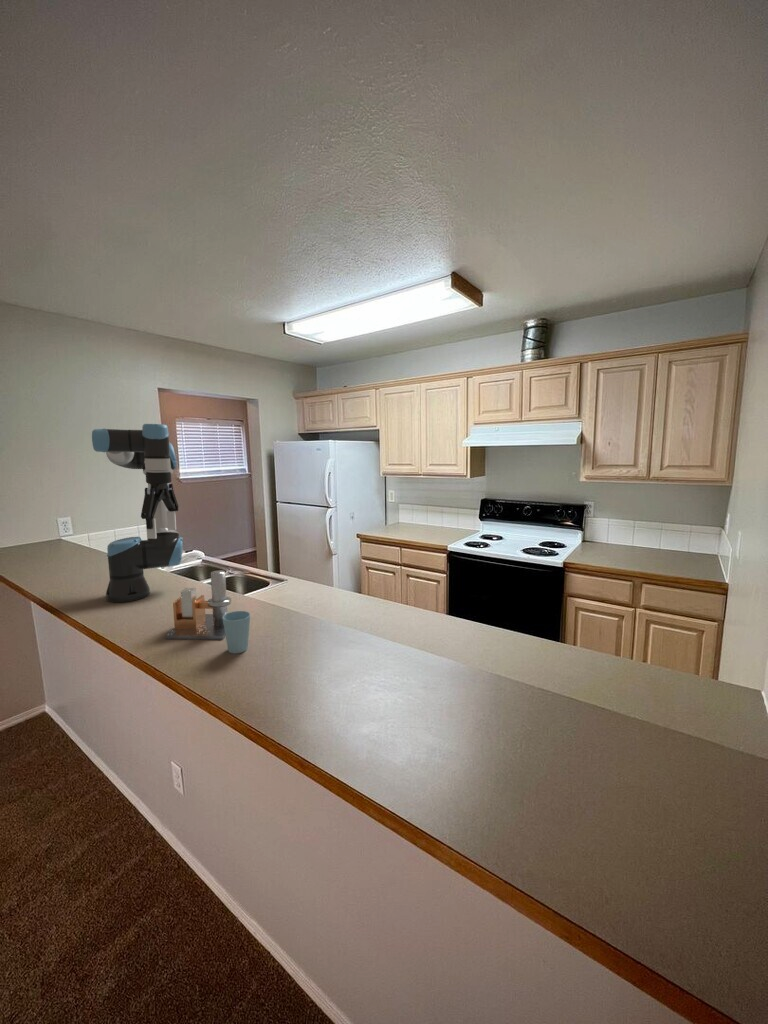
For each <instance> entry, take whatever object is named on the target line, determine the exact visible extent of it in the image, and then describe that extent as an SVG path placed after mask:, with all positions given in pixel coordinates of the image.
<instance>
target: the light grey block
mask: <svg viewBox="0 0 768 1024" xmlns="http://www.w3.org/2000/svg"><path fill="white" fill-rule="evenodd" d="M180 597H181V604H182V619H193V607H192V602H194V601H195V600H196V599H197V588H195V587H184V589H182V590H181V591H180Z"/></svg>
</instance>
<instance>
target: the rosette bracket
mask: <svg viewBox="0 0 768 1024" xmlns="http://www.w3.org/2000/svg"><path fill="white" fill-rule="evenodd" d="M226 577H227V576H226V571H225V570H223V569H221V570H219V569H218V570H214V571H211V572H210V581H211V582H210V585H211V587H210V589H211V598H210V599H208V600H205V595H204V594H201V595H200V596H199V597H198V598H197V597H196V598H197V599H196V600H195V601H194V602H192V607H193V619H182V604H181V596H180V597H178V598H177V599H176V600H174V601H173V602H172V607H173V608H172V609H173V623H174V628H172V630H170V631H169V632H168V633H167V634H165V635H164V639H165V640H224V639H226V635H225V629H224V624H223V618H222V617H223V616H224V615H225V614H227V613H228V606H229V605H231V604H232V598H231V597H229V596H227V582H226V581H227V580H226ZM207 609H209V610H210V609H211V610H212V613H206V610H207Z"/></svg>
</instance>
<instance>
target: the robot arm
mask: <svg viewBox="0 0 768 1024" xmlns="http://www.w3.org/2000/svg"><path fill="white" fill-rule="evenodd" d="M91 442H92V443H91V444H92V447H93V451H95V452H98V453H100V452H101V453H105V455H106V458H107V459H108V460H109V462H111V463H112V464H114V465H116V466H119V467H122V468H126V469H129V470H130V469H131V470H142V473H143V474H144V475H145V482H146V483H147V487H145V488H144V497H143V503H142V508H141V512H140V513H141V514H140V518H141V519H142V520H145V526H146V527H145V528H146V529H145V530H146V539H144V540H142V538H141V536H131V537H125V538H120V539H117V540H113V541H111V542H110V543H108V545H107V548H106V549H107V551H106V552H107V554H106V557H107V562H108V574H109V581H108V584H107V588H106V591H105V600H106V601H107V602H109V603H127V602H134V601H138V600H141V599H144V598H147V597H149V596H150V594H151V590H150V586H149V584H148V582H147V580H146V578H145V574H144V570H148V569H157V568H158V569H159V568H170V567H175V566H178V565H180V564H181V562H182V557H183V544H184V542H183V541H184V537H183V536H182V537H181V536H180V535H179V531H177V520H176V519H177V517H176V516H177V515H176V512H178V511H179V503H178V501H177V497H176V494H175V490H174V484H173V483H172V475H173V474H174V472H175V471H174V470H176V469H177V468H178V462H177V458H176V453H175V448H174V446H173V444H172V443H171V442H170V434H169V427H168V425H167V424H163V423H144V424H143V425H142V429H118V428H117V429H114V428H113V429H111V428H110V429H109V428H94V429H93V430H92V431H91Z"/></svg>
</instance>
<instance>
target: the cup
mask: <svg viewBox="0 0 768 1024" xmlns="http://www.w3.org/2000/svg"><path fill="white" fill-rule="evenodd" d="M222 618H223V624H224V629H225V635H226V637H225V641H226V646H227V651H228V653H229V654H240V653H244V652H246V651H247V650H248V648H249V635H250V624H251V613H250V612H249V611H246V610H235V611H231V612H227V614H225V615H224V616H223V617H222Z"/></svg>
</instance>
